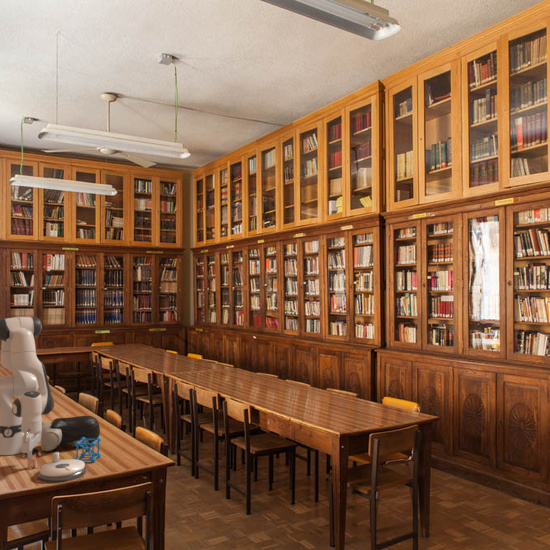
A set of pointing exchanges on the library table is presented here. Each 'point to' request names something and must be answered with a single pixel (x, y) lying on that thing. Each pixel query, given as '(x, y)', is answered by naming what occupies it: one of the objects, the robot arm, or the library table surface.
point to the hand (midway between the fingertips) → (31, 456)
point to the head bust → (68, 432)
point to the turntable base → (61, 477)
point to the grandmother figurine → (32, 459)
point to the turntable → (61, 467)
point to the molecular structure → (88, 449)
